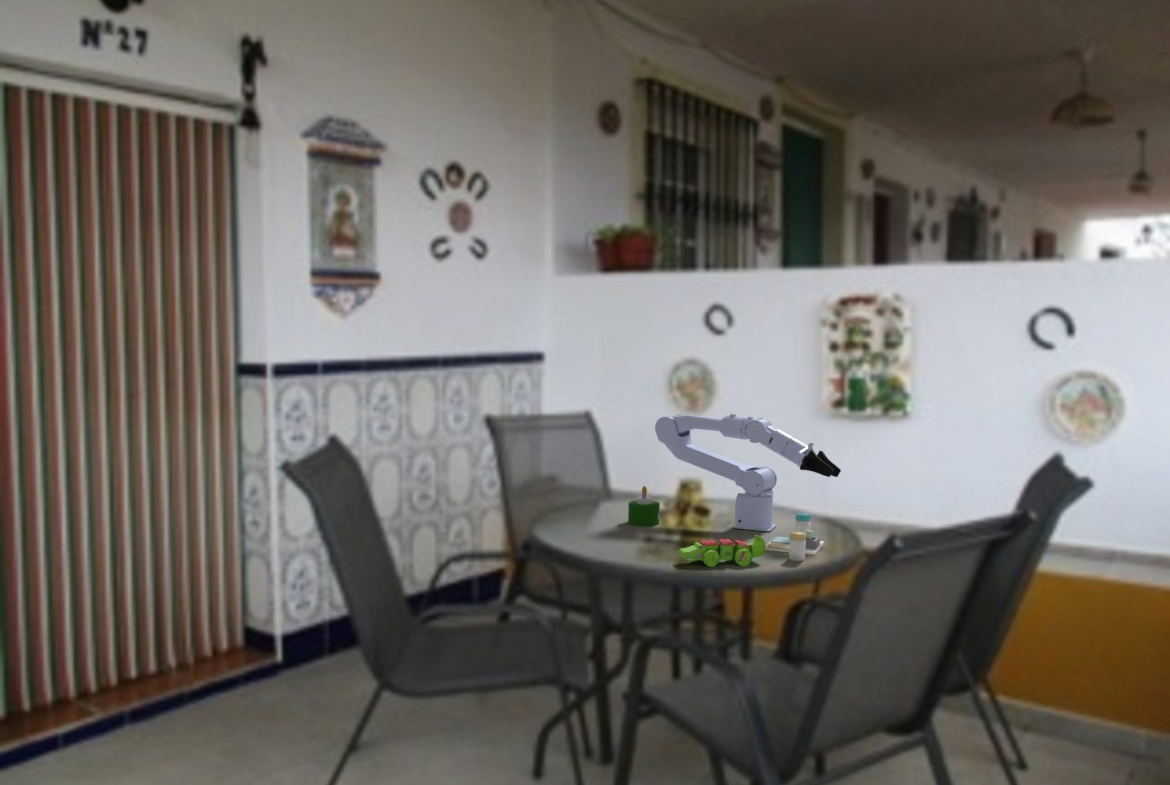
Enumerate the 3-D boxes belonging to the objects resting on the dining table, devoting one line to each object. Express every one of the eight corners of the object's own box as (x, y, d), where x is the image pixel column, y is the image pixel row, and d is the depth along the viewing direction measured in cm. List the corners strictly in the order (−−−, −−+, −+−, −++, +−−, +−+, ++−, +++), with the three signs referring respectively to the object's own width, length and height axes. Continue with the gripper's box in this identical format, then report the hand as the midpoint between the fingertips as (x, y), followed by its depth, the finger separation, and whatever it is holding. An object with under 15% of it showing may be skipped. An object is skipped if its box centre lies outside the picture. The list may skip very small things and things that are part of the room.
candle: (657, 520, 270) (658, 483, 269) (660, 526, 262) (661, 489, 261) (627, 519, 270) (627, 483, 269) (629, 526, 261) (630, 488, 261)
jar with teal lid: (793, 539, 249) (794, 515, 249) (796, 536, 253) (797, 512, 252) (808, 540, 248) (809, 516, 247) (811, 537, 251) (812, 514, 251)
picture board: (763, 549, 237) (764, 539, 237) (775, 538, 249) (776, 528, 249) (814, 555, 233) (814, 544, 232) (824, 543, 245) (824, 533, 244)
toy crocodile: (683, 568, 220) (683, 541, 219) (676, 560, 226) (676, 534, 226) (769, 566, 222) (770, 539, 222) (760, 559, 229) (760, 532, 229)
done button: (803, 540, 238) (804, 531, 238) (805, 538, 240) (805, 529, 240) (812, 541, 237) (812, 532, 237) (813, 539, 239) (814, 530, 239)
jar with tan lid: (787, 560, 228) (788, 534, 227) (790, 556, 231) (791, 531, 231) (803, 561, 226) (804, 535, 226) (806, 558, 230) (807, 532, 229)
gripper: (788, 432, 249) (835, 459, 243) (803, 434, 262) (849, 460, 256) (774, 457, 250) (822, 484, 244) (791, 458, 263) (836, 484, 257)
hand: (835, 473), depth 250 cm, fingers open, 7 cm apart
